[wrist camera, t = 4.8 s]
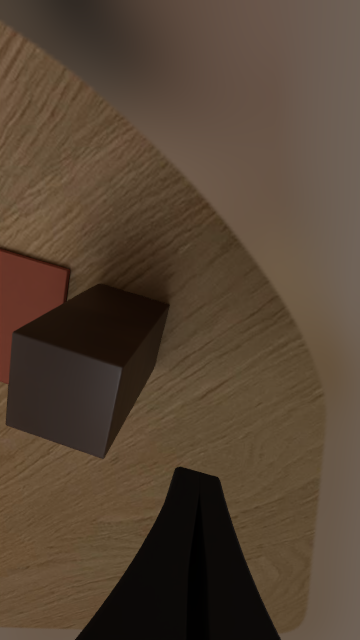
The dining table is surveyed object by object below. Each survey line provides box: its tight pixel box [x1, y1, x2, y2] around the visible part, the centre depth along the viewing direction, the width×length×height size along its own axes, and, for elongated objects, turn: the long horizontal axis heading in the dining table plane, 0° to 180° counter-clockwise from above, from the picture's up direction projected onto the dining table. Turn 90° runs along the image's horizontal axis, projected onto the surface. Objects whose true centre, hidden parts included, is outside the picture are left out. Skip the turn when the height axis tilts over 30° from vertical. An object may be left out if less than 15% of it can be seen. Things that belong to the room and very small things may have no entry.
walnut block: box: [6, 284, 170, 459], centre depth 17 cm, size 4×4×8 cm
